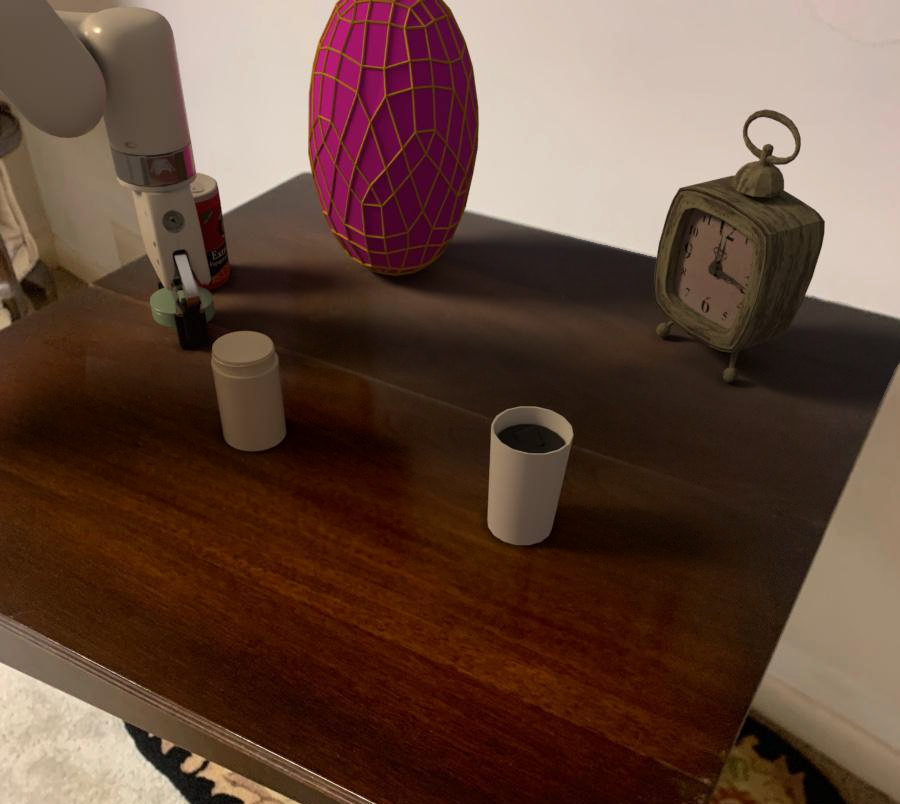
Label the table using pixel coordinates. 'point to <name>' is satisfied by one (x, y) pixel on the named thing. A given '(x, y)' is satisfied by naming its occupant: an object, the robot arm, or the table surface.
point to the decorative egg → (392, 130)
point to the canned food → (211, 229)
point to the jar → (248, 390)
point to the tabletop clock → (737, 254)
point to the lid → (166, 309)
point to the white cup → (526, 472)
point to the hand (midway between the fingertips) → (186, 328)
